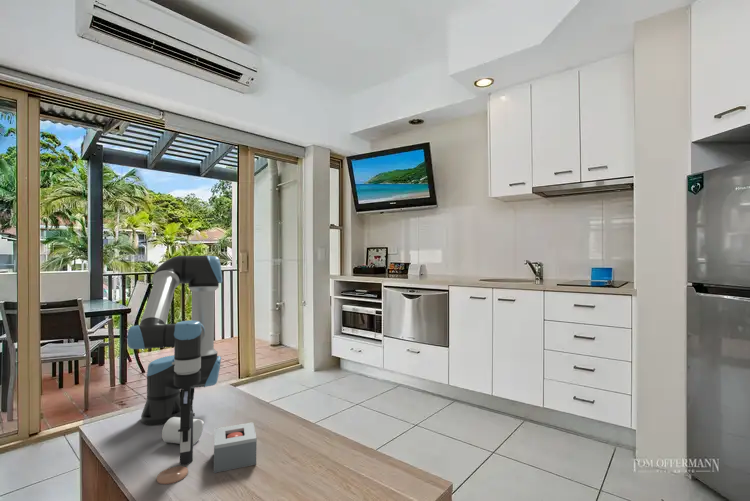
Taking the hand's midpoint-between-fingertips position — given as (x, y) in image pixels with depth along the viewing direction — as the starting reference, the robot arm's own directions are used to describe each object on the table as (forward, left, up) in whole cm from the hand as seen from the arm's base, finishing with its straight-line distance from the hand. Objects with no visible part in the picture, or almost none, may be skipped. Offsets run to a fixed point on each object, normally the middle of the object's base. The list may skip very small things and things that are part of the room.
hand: (186, 444), depth 115 cm
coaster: (+7, -3, -5) cm, 9 cm away
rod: (0, 0, -5) cm, 5 cm away
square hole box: (+4, +14, -5) cm, 15 cm away
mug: (-16, -1, -5) cm, 17 cm away
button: (+4, +14, -1) cm, 15 cm away
